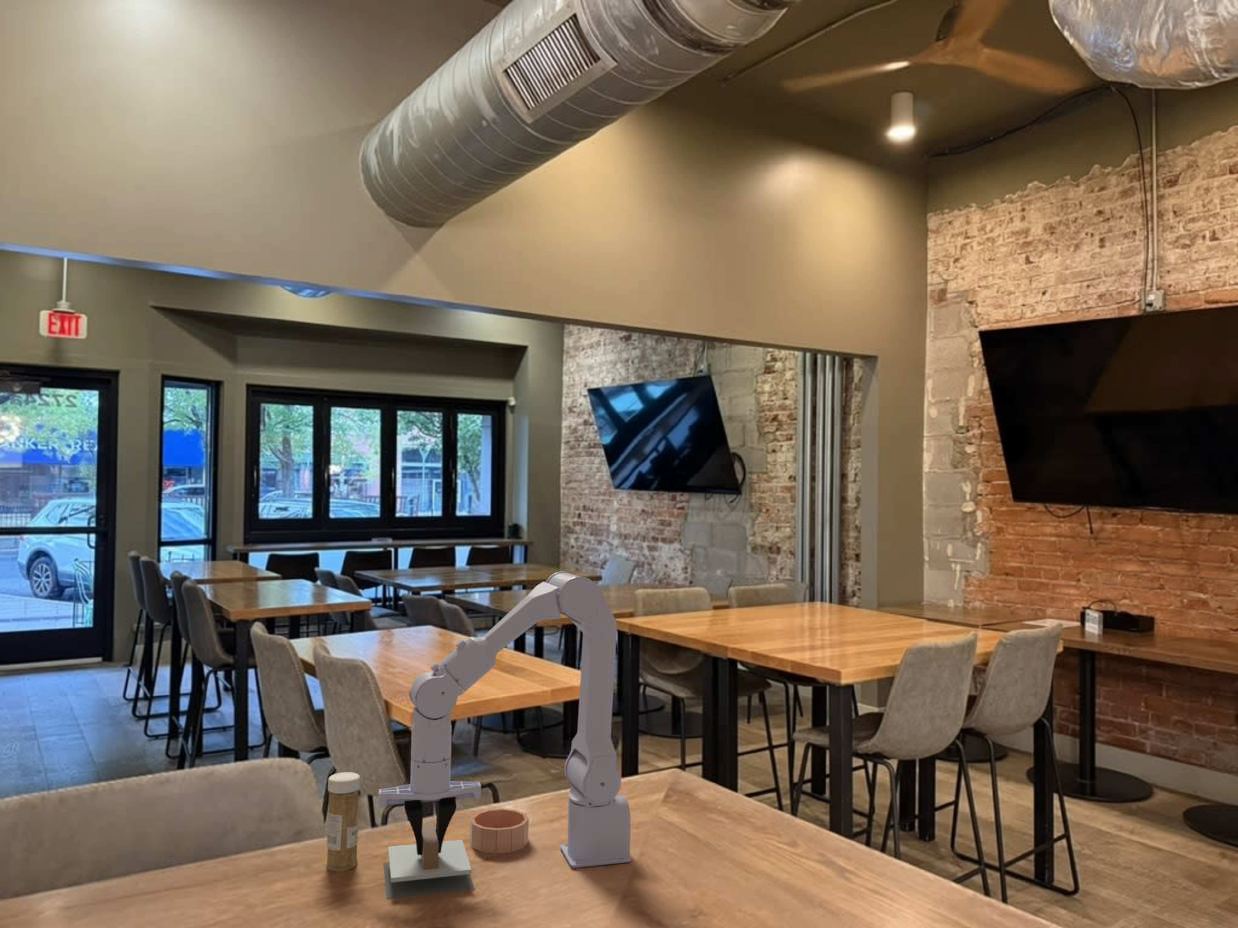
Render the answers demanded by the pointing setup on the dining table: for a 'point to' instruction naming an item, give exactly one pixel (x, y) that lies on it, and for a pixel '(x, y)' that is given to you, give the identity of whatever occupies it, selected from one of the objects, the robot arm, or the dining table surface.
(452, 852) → the lid
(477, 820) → the bowl
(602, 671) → the robot arm
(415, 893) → the mat
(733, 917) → the dining table surface
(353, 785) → the sprinkles bottle
